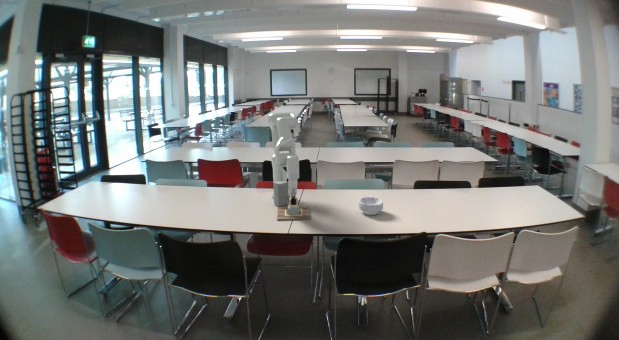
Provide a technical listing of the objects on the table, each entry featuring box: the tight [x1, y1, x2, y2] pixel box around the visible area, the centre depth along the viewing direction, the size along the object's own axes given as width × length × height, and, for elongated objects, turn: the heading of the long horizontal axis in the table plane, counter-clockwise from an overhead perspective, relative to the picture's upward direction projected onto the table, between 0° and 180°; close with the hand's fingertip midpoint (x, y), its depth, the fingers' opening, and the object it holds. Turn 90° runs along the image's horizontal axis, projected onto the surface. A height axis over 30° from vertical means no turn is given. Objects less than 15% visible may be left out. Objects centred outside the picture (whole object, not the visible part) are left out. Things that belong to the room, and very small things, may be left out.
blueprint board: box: [276, 203, 311, 222], centre depth 219 cm, size 20×20×5 cm
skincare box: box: [273, 181, 290, 208], centre depth 235 cm, size 8×7×16 cm
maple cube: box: [289, 197, 298, 208], centre depth 218 cm, size 5×5×5 cm
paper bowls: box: [358, 196, 384, 216], centre depth 220 cm, size 15×15×8 cm
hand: (293, 202), depth 218 cm, fingers open, 9 cm apart
